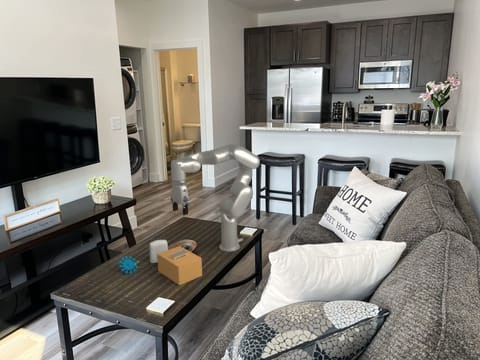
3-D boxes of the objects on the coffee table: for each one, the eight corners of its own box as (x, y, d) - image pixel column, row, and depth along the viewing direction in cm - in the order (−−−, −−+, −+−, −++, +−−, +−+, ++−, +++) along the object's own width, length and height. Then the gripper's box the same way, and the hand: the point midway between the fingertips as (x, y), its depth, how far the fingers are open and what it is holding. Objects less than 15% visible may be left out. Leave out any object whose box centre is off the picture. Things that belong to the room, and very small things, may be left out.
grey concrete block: (184, 265, 192) (183, 249, 190) (188, 267, 189) (188, 251, 187) (170, 271, 185) (169, 255, 183) (174, 274, 183) (174, 257, 181)
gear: (122, 274, 184) (117, 257, 188) (118, 279, 187) (113, 261, 192) (142, 270, 191) (137, 253, 195) (138, 275, 195) (133, 258, 199)
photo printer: (167, 257, 206) (166, 237, 203) (169, 260, 203) (168, 240, 200) (149, 261, 202) (148, 240, 199) (151, 264, 198) (149, 243, 195)
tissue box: (180, 262, 200) (179, 246, 197) (202, 275, 185) (201, 257, 183) (158, 271, 190) (157, 253, 188) (179, 285, 176) (178, 266, 174)
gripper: (194, 184, 189) (195, 214, 193) (175, 178, 201) (177, 207, 205) (182, 186, 184) (183, 218, 188) (164, 180, 196) (166, 210, 200)
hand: (180, 212), depth 196 cm, fingers open, 9 cm apart
